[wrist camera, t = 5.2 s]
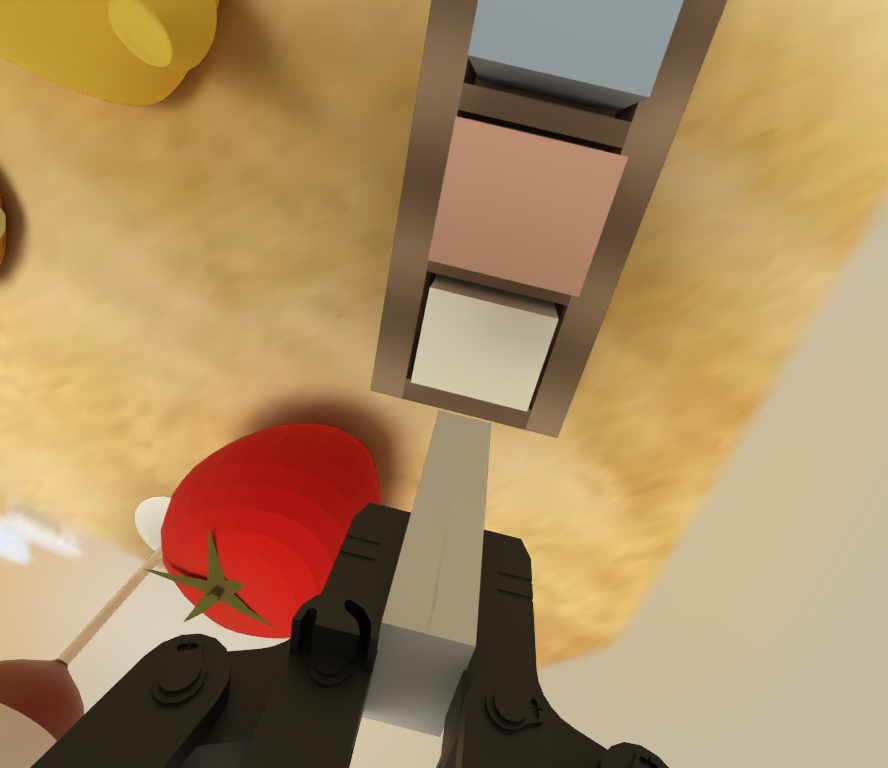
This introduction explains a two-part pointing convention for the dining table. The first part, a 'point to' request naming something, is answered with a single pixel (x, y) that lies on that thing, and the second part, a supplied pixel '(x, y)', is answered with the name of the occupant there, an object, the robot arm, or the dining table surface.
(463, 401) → the key block
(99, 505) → the dining table surface
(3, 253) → the decorated donut
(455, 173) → the terracotta key
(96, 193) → the dining table surface
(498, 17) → the slate key
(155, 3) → the teapot
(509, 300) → the ivory key
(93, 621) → the wineglass
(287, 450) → the tomato
